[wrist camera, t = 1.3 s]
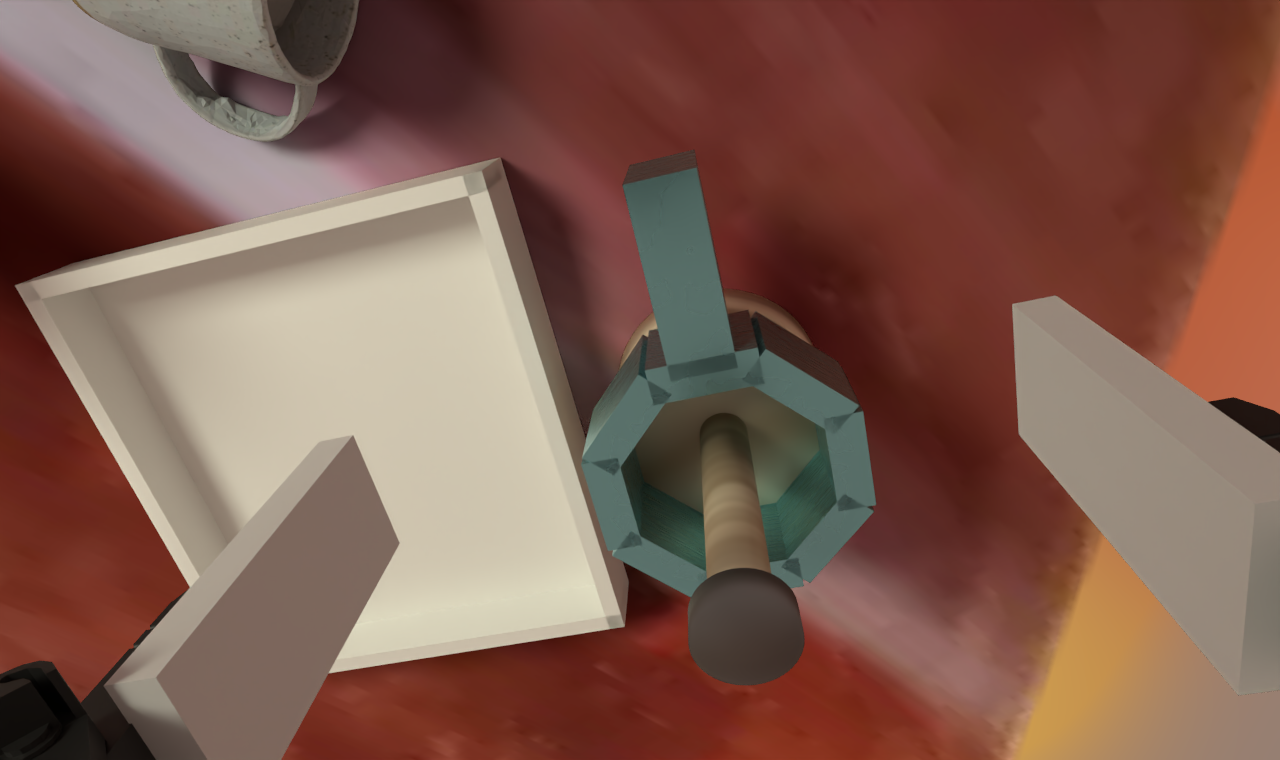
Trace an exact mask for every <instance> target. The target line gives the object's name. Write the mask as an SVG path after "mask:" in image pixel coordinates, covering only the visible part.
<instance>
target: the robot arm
mask: <svg viewBox="0 0 1280 760" xmlns="http://www.w3.org/2000/svg"><path fill="white" fill-rule="evenodd" d="M1012 310H1013V330H1014V349H1015V369H1016V389H1017V409H1018V429H1019V435H1020V436H1021V438H1022V439H1023V440H1024V441H1025V442H1026V444H1027V445H1028V446H1029V447H1030V448H1031V449H1032V451H1033V452H1034V453H1035V454H1036V455H1037V457H1038V458H1039V459H1040V460H1041V461H1042V463H1043V464H1044V465H1045V466H1046V467H1047V469H1048V470H1049V471H1050V472H1051V473H1052V474H1053V476H1054V477H1055V478H1056V479H1057V480H1058V482H1059V483H1060V484H1061V485H1062V486H1063V488H1064V489H1065V490H1066V491H1067V492H1068V493H1069V495H1070V496H1071V497H1072V498H1073V499H1074V501H1075V502H1076V503H1077V504H1078V505H1079V507H1080V508H1081V509H1082V510H1083V511H1084V513H1085V514H1086V515H1087V516H1088V517H1089V518H1090V520H1091V521H1092V522H1093V523H1094V524H1095V526H1096V527H1097V528H1098V529H1099V530H1100V532H1101V533H1102V534H1103V535H1104V536H1105V537H1106V539H1107V540H1108V541H1109V542H1110V543H1111V545H1112V546H1113V547H1114V548H1115V549H1116V551H1117V552H1118V553H1119V554H1120V555H1121V557H1122V558H1123V559H1124V560H1125V561H1126V562H1127V564H1128V565H1129V566H1130V567H1131V568H1132V570H1133V571H1134V572H1135V573H1136V574H1137V576H1138V577H1139V578H1140V579H1141V580H1142V581H1143V583H1144V584H1145V585H1146V586H1147V587H1148V589H1149V590H1150V591H1151V592H1152V593H1153V595H1154V596H1155V597H1156V598H1157V599H1158V601H1159V602H1160V603H1161V604H1162V605H1163V606H1164V608H1165V609H1166V610H1167V611H1168V612H1169V614H1170V615H1171V616H1172V617H1173V618H1174V620H1175V621H1176V622H1177V623H1178V624H1179V626H1180V627H1181V628H1182V629H1183V630H1184V632H1185V633H1186V634H1187V635H1188V636H1189V637H1190V639H1191V640H1192V641H1193V642H1194V643H1195V645H1196V646H1197V647H1198V648H1199V649H1200V650H1201V652H1202V653H1203V654H1204V655H1205V656H1206V658H1207V659H1208V660H1209V661H1210V662H1211V664H1212V665H1213V666H1214V667H1215V668H1216V670H1217V671H1218V672H1219V673H1220V674H1221V676H1222V677H1223V678H1224V679H1225V680H1226V681H1227V683H1228V684H1229V685H1230V686H1231V687H1232V689H1233V690H1234V691H1235V692H1236V693H1237V695H1247V694H1255V693H1263V692H1270V691H1278V690H1280V414H1278V413H1277V412H1275V411H1274V410H1270V409H1268V408H1264V407H1261V406H1258V405H1255V404H1252V403H1249V402H1246V401H1243V400H1240V399H1237V398H1228V399H1222V400H1217V401H1211V402H1207V401H1205V400H1204V399H1202V398H1201V397H1200V396H1198V395H1197V394H1195V393H1194V392H1192V391H1191V390H1190V389H1188V388H1187V387H1185V386H1184V385H1182V384H1181V383H1180V382H1178V381H1177V380H1175V379H1174V378H1173V377H1171V376H1170V375H1168V374H1167V373H1165V372H1164V371H1163V370H1161V369H1160V368H1158V367H1157V366H1155V365H1154V364H1153V363H1151V362H1150V361H1148V360H1147V359H1145V358H1144V357H1143V356H1141V355H1140V354H1138V353H1137V352H1136V351H1134V350H1133V349H1131V348H1130V347H1128V346H1127V345H1126V344H1124V343H1123V342H1121V341H1120V340H1118V339H1117V338H1116V337H1114V336H1113V335H1111V334H1110V333H1108V332H1107V331H1106V330H1104V329H1103V328H1101V327H1100V326H1098V325H1097V324H1096V323H1094V322H1093V321H1091V320H1090V319H1089V318H1087V317H1086V316H1084V315H1083V314H1081V313H1080V312H1079V311H1077V310H1076V309H1074V308H1073V307H1071V306H1070V305H1069V304H1067V303H1066V302H1064V301H1063V300H1061V299H1060V298H1059V297H1057V296H1051V297H1046V298H1041V299H1036V300H1031V301H1026V302H1021V303H1016V304H1012ZM399 544H400V542H399V540H398V538H397V535H396V533H395V531H394V529H393V526H392V524H391V522H390V519H389V517H388V515H387V512H386V510H385V508H384V505H383V503H382V501H381V498H380V496H379V494H378V491H377V489H376V487H375V484H374V482H373V480H372V477H371V475H370V473H369V471H368V468H367V466H366V464H365V461H364V459H363V457H362V454H361V452H360V450H359V447H358V445H357V443H356V440H355V438H354V436H353V435H350V436H345V437H340V438H335V439H330V440H325V441H320V442H318V444H317V445H316V446H315V447H314V448H313V449H312V450H311V451H310V453H309V454H308V455H307V456H306V457H305V458H304V459H303V461H302V462H301V463H300V464H299V465H298V466H297V467H296V468H295V470H294V471H293V472H292V473H291V474H290V475H289V476H288V478H287V479H286V480H285V481H284V482H283V483H282V484H281V485H280V487H279V488H278V489H277V490H276V491H275V492H274V493H273V495H272V496H271V497H270V498H269V499H268V500H267V501H266V502H265V504H264V505H263V506H262V507H261V508H260V509H259V510H258V511H257V513H256V514H255V515H254V516H253V517H252V518H251V519H250V521H249V522H248V523H247V524H246V525H245V526H244V527H243V528H242V530H241V531H240V532H239V533H238V534H237V535H236V536H235V538H234V539H233V540H232V541H231V542H230V543H229V544H228V545H227V547H226V548H225V549H224V550H223V551H222V552H221V553H220V554H219V556H218V557H217V558H216V559H215V560H214V561H213V562H212V564H211V565H210V566H209V567H208V568H207V569H206V570H205V571H204V573H203V574H202V575H201V576H200V577H199V578H198V579H197V581H196V582H195V583H194V584H193V585H192V586H191V587H190V588H189V589H188V590H187V591H186V592H184V593H183V594H182V595H180V596H179V597H178V598H176V599H175V600H174V601H172V602H171V603H170V604H169V605H168V606H167V607H166V609H165V610H164V611H163V612H162V613H161V614H160V615H159V616H158V617H157V619H156V620H155V621H154V622H153V623H152V624H151V625H150V630H146V631H145V632H144V633H143V634H142V635H141V636H140V638H139V639H138V640H137V641H136V642H135V643H134V648H133V649H129V650H128V651H127V652H126V653H125V654H124V655H123V657H122V658H121V659H120V660H119V661H118V662H117V663H116V664H115V666H114V667H113V668H112V669H111V670H110V671H109V672H108V673H107V674H106V676H105V677H104V678H103V679H102V680H101V681H100V682H99V683H98V685H97V686H96V687H95V688H94V689H93V690H92V691H91V692H90V693H89V695H88V696H87V697H86V698H85V699H84V700H83V701H82V702H81V703H80V702H79V700H78V699H77V698H76V696H75V695H74V693H73V692H72V690H71V689H70V688H69V686H68V685H67V683H66V682H65V680H64V679H63V677H62V676H61V675H60V673H59V672H58V670H57V669H56V667H55V666H54V664H53V663H52V662H48V661H37V662H32V663H28V664H24V665H21V666H18V667H16V668H14V669H11V670H9V671H7V672H4V673H2V674H0V760H281V759H282V757H283V755H284V753H285V751H286V750H287V748H288V746H289V744H290V742H291V740H292V739H293V737H294V735H295V733H296V731H297V730H298V728H299V726H300V724H301V722H302V720H303V719H304V717H305V715H306V713H307V711H308V710H309V708H310V706H311V704H312V702H313V700H314V699H315V697H316V695H317V693H318V691H319V690H320V688H321V686H322V684H323V682H324V680H325V679H326V677H327V675H328V673H329V671H330V670H331V668H332V666H333V664H334V662H335V660H336V659H337V657H338V655H339V653H340V651H341V650H342V648H343V646H344V644H345V642H346V640H347V639H348V637H349V635H350V633H351V631H352V630H353V628H354V626H355V624H356V622H357V620H358V619H359V617H360V615H361V613H362V611H363V609H364V608H365V606H366V604H367V602H368V600H369V599H370V597H371V595H372V593H373V591H374V589H375V588H376V586H377V584H378V582H379V580H380V579H381V577H382V575H383V573H384V571H385V569H386V568H387V566H388V564H389V562H390V560H391V559H392V557H393V555H394V553H395V551H396V549H397V548H398V546H399Z"/></svg>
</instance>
